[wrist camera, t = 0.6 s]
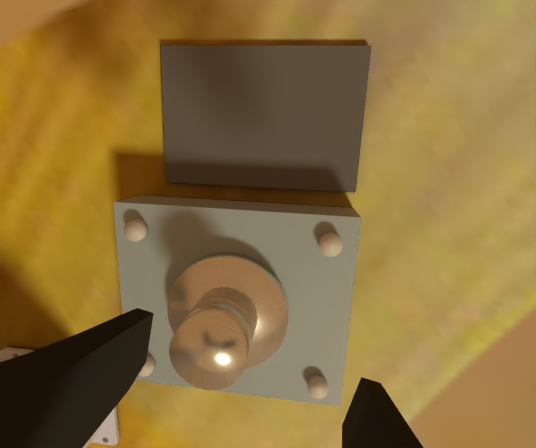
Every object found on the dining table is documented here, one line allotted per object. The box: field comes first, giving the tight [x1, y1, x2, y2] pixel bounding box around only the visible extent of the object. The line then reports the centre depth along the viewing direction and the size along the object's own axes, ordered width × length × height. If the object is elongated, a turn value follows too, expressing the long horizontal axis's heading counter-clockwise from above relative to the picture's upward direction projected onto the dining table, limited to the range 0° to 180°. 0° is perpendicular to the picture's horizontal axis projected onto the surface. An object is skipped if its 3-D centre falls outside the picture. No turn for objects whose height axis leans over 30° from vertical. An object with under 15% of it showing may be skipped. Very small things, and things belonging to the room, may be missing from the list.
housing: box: [113, 195, 361, 406], centre depth 19 cm, size 14×12×4 cm
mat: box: [160, 45, 371, 192], centre depth 18 cm, size 12×8×1 cm, turn 88°
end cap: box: [167, 252, 289, 390], centre depth 17 cm, size 7×7×6 cm
